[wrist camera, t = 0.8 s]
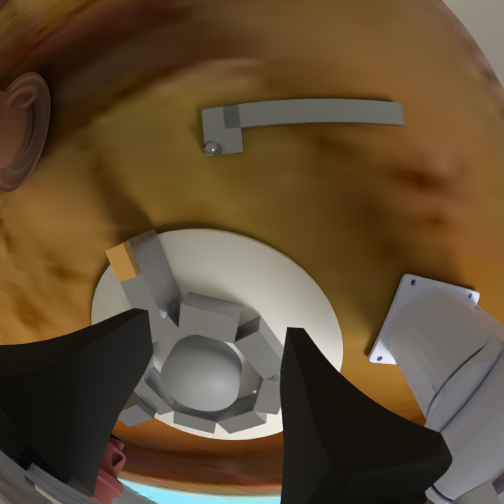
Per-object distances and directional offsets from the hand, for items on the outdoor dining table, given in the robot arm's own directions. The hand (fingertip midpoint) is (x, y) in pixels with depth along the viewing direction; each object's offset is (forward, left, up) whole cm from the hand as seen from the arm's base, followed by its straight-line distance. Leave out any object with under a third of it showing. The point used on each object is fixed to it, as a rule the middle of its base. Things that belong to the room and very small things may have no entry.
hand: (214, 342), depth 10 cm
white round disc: (+1, +9, -9) cm, 13 cm away
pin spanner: (-2, -10, -10) cm, 14 cm away
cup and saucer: (+24, -8, -10) cm, 27 cm away
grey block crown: (+1, +7, -8) cm, 11 cm away
